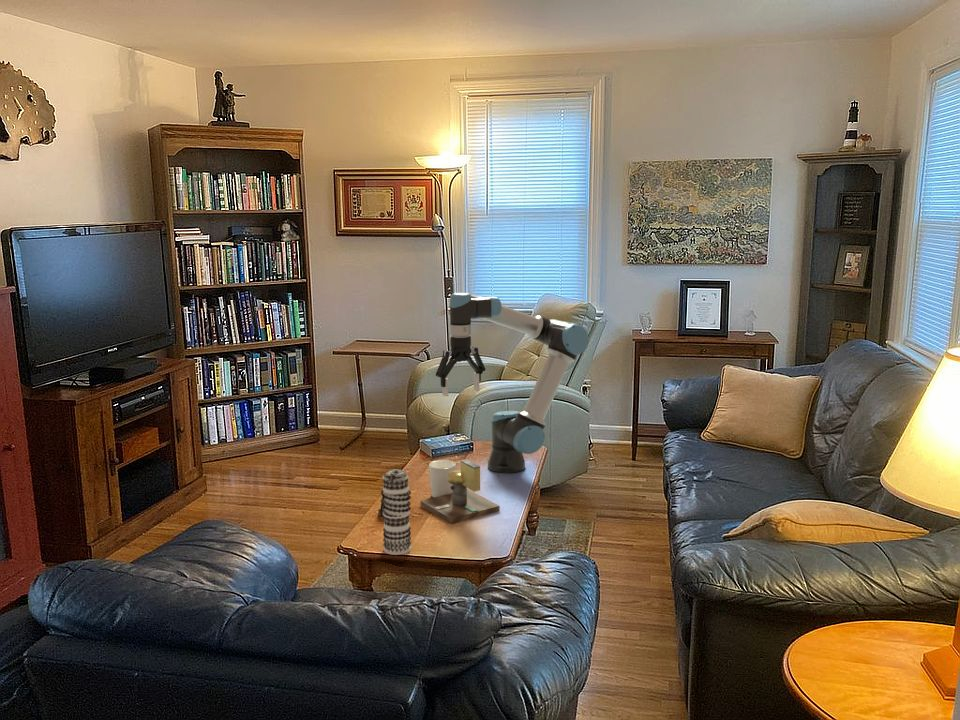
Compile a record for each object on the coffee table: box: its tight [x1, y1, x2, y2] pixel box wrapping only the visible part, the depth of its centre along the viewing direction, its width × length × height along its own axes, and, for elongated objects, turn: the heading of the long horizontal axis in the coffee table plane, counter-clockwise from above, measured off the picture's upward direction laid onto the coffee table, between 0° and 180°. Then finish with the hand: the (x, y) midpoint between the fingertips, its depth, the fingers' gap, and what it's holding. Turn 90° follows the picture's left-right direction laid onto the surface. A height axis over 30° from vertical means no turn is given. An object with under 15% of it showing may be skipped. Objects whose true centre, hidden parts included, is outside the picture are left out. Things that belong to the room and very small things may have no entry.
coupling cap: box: [448, 459, 481, 493], centre depth 271 cm, size 16×8×8 cm, turn 31°
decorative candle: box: [380, 468, 412, 556], centre depth 243 cm, size 9×9×25 cm
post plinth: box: [420, 484, 501, 525], centre depth 277 cm, size 20×20×10 cm
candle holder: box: [428, 459, 457, 498], centre depth 289 cm, size 10×10×12 cm
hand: (461, 393), depth 291 cm, fingers open, 13 cm apart
